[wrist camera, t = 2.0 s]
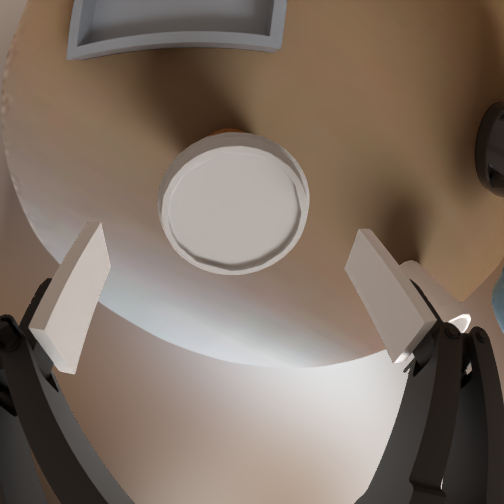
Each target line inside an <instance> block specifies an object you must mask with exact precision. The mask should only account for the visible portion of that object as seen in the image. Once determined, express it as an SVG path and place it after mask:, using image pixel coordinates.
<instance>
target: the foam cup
mask: <svg viewBox="0 0 504 504" xmlns="http://www.w3.org/2000/svg"><path fill="white" fill-rule="evenodd" d="M399 266H400V267H401V269H402V270H403V271H404V273H405V274H406V275H407V277H408V278H409V279H411V280H412V281H414V282H415V283H416V284H417V285H418V286H419V287H420V288H421V290H422V291H423V293H424V295H425V296H426V297H427V298H428V301H430V303H431V304H432V306H433V307H434V309H435V310H436V312H437V313H438V315H439V316H440V318H441V319H442V321H443V322H449V323H452V324H453V325H455V326H456V327H457V328H458V329H459V331H460V333H464V331H465V330H466V329H467V328H468V325H469V323H470V320H471V318H470V315H469V313H468V312H467V310H466V309H465V307H464V306H463V305H462V303H461V302H458V301H457V300H456V299H455V298H454V297H453V296H452V295H451V294H450V293H449V292H448V291H447V290H446V289H445V288H444V287H443V286H442V285H441V284H440V283H439V282H438V281H437V280H436V279H435V278H434V277H433V276H432V275H431V274H430V273H429V272H428V271H427V270H426V269H424V268H423V267H422V266H421V265H420V264H418V263H417V262H416V261H412V260H410V261H406V262H404V263H402V264H401V265H399Z"/></svg>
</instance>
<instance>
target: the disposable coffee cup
mask: <svg viewBox="0 0 504 504" xmlns="http://www.w3.org/2000/svg"><path fill="white" fill-rule="evenodd" d="M157 204H158V214H159V218H160V221H161V224H162V227H163V230H164V231H165V234H166V236H167V238H168V240H169V241H170V243H171V245H172V246H173V248H174V249H175V250H176V251H177V252H178V253H179V254H180V256H181V257H183V258H184V259H186V260H187V261H188V262H190V263H191V264H193V265H195V266H196V267H198V268H200V269H203V270H206V271H209V272H212V273H217V274H223V275H240V274H247V273H252V272H256V271H259V270H262V269H264V268H266V267H268V266H270V265H273V264H274V263H276V262H277V261H279V260H280V259H281V258H283V257H284V256H285V255H286V254H287V253H288V252H289V251H290V250H291V249H292V248H293V247H294V245H295V244H296V243H297V241H298V240H299V238H300V236H301V234H302V232H303V229H304V226H305V223H306V220H307V215H308V208H309V189H308V184H307V180H306V178H305V175H304V173H303V171H302V169H301V167H300V166H299V164H298V162H297V161H296V160H295V159H294V158H293V157H292V155H291V154H290V153H289V152H288V151H286V150H285V149H284V148H283V147H281V146H280V145H278V144H277V143H275V142H273V141H271V140H269V139H267V138H265V137H262V136H258V135H255V134H251V133H246V132H244V131H242V130H239V129H235V128H225V129H220V130H217V131H215V132H213V133H211V134H210V135H208V136H207V137H205V138H203V139H201V140H199V141H197V142H195V143H193V144H192V145H190V146H189V147H187V148H186V149H185V150H184V151H182V152H181V153H180V154H179V155H178V156H177V157H176V158H175V159H174V160H173V162H172V163H171V165H170V166H169V168H168V169H167V170H166V172H165V173H164V176H163V179H162V181H161V184H160V187H159V193H158V199H157Z"/></svg>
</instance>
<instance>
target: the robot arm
mask: <svg viewBox="0 0 504 504" xmlns="http://www.w3.org/2000/svg"><path fill="white" fill-rule="evenodd" d="M476 168H477V173H478V177H479V179H480V182H481V183H482V185H483V186H484V187H485V188H486V189H488V190H489V191H491V192H492V193H493V194H495V195H497V196H500V197H504V103H503V102H499V103H496V104H494V105H493V106H491V107H490V109H489V110H488V111H487V113H486V114H485V116H484V118H483V121H482V123H481V126H480V129H479V133H478V138H477V144H476ZM110 268H111V264H110V260H109V256H108V252H107V248H106V243H105V239H104V234H103V229H102V224H101V222H88V223H87V225H86V226H85V227H84V229H83V230H82V232H81V233H80V235H79V236H78V238H77V239H76V241H75V242H74V244H73V246H72V247H71V249H70V250H69V252H68V253H67V255H66V257H65V258H64V260H63V262H62V263H61V265H60V267H59V269H58V270H57V272H56V274H55V275H54V277H53V279H51V278H47V279H46V280H45V281H44V282H43V283H42V284H41V285H40V286H39V288H38V290H37V291H36V293H35V297H33V299H32V301H31V304H29V307H28V308H27V310H26V312H25V314H24V316H23V318H22V321H21V323H20V325H19V326H18V324H17V322H16V321H15V319H14V318H13V317H12V316H11V315H6V314H5V315H2V316H0V504H48V503H47V500H46V498H45V495H44V493H43V490H42V487H41V485H40V481H39V478H38V475H37V472H36V469H35V466H34V462H33V458H32V455H31V451H30V447H31V450H32V452H33V454H34V456H35V458H36V460H37V462H38V464H39V466H40V468H41V470H42V472H43V474H44V476H45V477H46V479H47V481H48V483H49V485H50V486H51V488H52V490H53V491H54V493H55V495H56V496H57V498H58V499H59V501H60V502H61V504H135V503H134V502H133V501H132V500H131V499H130V497H129V496H128V495H127V494H126V493H125V491H124V490H123V489H122V488H121V486H120V485H119V484H118V483H117V481H116V480H115V479H114V478H113V476H112V475H111V473H110V472H109V471H108V469H107V468H106V467H105V465H104V464H103V462H102V461H101V459H100V458H99V456H98V455H97V454H96V452H95V450H94V449H93V447H92V446H91V444H90V443H89V441H88V439H87V438H86V436H85V434H84V433H83V431H82V429H81V428H80V426H79V424H78V422H77V421H76V419H75V417H74V415H73V413H72V411H71V409H70V407H69V405H68V403H67V401H66V399H65V397H64V395H63V393H62V391H61V389H60V387H59V384H58V382H57V380H56V377H55V375H54V374H53V372H52V371H51V370H52V367H53V364H54V365H55V366H56V367H57V368H58V370H59V371H61V372H66V373H71V374H75V372H76V368H77V364H78V361H79V357H80V353H81V350H82V347H83V343H84V339H85V337H86V333H87V330H88V327H89V324H90V321H91V318H92V315H93V313H94V310H95V307H96V304H97V301H98V299H99V296H100V293H101V291H102V288H103V286H104V283H105V280H106V278H107V276H108V273H109V271H110ZM345 271H346V273H347V274H348V276H349V278H350V280H351V281H352V283H353V285H354V287H355V289H356V291H357V292H358V294H359V296H360V298H361V300H362V302H363V304H364V306H365V307H366V309H367V311H368V313H369V315H370V317H371V319H372V321H373V323H374V325H375V327H376V329H377V331H378V333H379V335H380V337H381V339H382V341H383V343H384V345H385V347H386V349H387V351H388V354H389V356H390V358H391V360H392V362H393V363H397V362H401V361H405V360H406V359H407V358H408V357H409V356H410V354H411V353H412V352H413V354H414V356H415V358H414V359H413V360H412V361H411V362H410V363H409V365H408V366H407V367H406V368H405V369H404V371H403V372H406V371H407V370H408V369H409V368H410V371H409V373H408V374H409V375H408V379H407V383H406V387H405V391H404V395H403V398H402V402H401V405H400V409H399V412H398V415H397V418H396V421H395V424H394V427H393V430H392V433H391V435H390V438H389V441H388V444H387V446H386V449H385V451H384V454H383V456H382V459H381V461H380V464H379V466H378V468H377V470H376V472H375V475H374V477H373V479H372V481H371V483H370V485H369V488H368V489H367V491H366V492H365V493H364V495H363V496H361V497H360V498H359V499H358V500H357V501H356V502H355V503H354V504H504V403H503V397H502V391H501V385H500V380H499V375H498V370H497V366H496V362H495V358H494V354H493V350H492V346H491V343H490V339H489V337H488V335H487V333H486V332H485V331H484V330H483V329H482V328H480V327H477V326H476V327H473V328H472V329H471V331H470V332H469V333H468V334H467V333H460V331H459V329H458V328H457V327H456V326H455V325H453V324H452V323H449V322H443V321H442V319H441V318H440V316H439V315H438V313H437V312H436V310H435V309H434V307H433V306H432V304H431V303H430V301H428V298H427V297H426V296H425V295H424V293H423V291H422V290H421V288H420V287H419V286H418V285H417V284H416V283H415V282H414V281H412V280H411V279H409V278H408V277H407V275H406V274H405V273H404V271H403V270H402V269H401V267H400V266H399V265H398V263H397V262H396V261H395V259H394V258H393V257H392V256H391V254H390V253H389V252H388V250H387V249H386V248H385V247H384V245H383V244H382V243H381V242H380V240H379V239H378V238H377V237H376V235H375V234H374V233H373V232H372V231H371V229H358V232H357V235H356V238H355V241H354V244H353V247H352V250H351V252H350V255H349V258H348V261H347V263H346V266H345ZM492 305H493V310H494V313H495V316H496V319H497V321H498V323H499V326H500V328H501V330H502V331H503V333H504V267H503V269H502V273H501V275H500V277H499V278H498V280H497V282H496V283H495V285H494V288H493V290H492ZM470 366H472V371H471V372H470V373H469V374H468V375H467V374H466V370H467V369H468V368H469V367H470ZM29 445H30V447H29ZM442 479H443V484H442V490H441V482H442Z"/></svg>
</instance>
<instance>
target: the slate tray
mask: <svg viewBox="0 0 504 504" xmlns="http://www.w3.org/2000/svg"><path fill="white" fill-rule="evenodd" d="M286 6H287V0H74V4H73V10H72V16H71V22H70V29H69V38H68V48H67V60H86V59H91V58H96V57H101V56H106V55H112V54H118V53H125V52H132V51H141V50H151V49H164V48H192V47H202V48H230V49H244V50H254V51H263V52H271V53H274V52H276V51H278V50H280V49H281V46H282V38H283V30H284V22H285V14H286Z"/></svg>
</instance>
